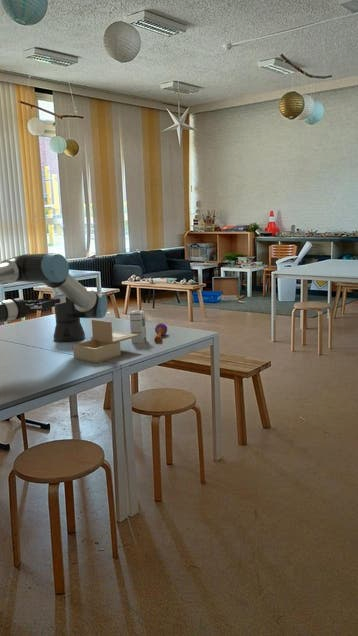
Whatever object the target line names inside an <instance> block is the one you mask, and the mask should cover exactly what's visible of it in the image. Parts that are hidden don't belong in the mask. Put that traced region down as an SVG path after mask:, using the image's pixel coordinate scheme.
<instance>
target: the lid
mask: <svg viewBox="0 0 358 636" xmlns="http://www.w3.org/2000/svg"><path fill="white" fill-rule="evenodd" d="M91 331H92V336H91V337H90V340H97V341H103V342H109V343H116V342H120V343H121V342H122V341H126V340H127V341H128V340H131V338H135V337H138V335H137V334H131V332H124V331H122V332H121V331H117V330H114V331H113V325H112V321H107V320H101V319H94V318H91Z"/></svg>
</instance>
